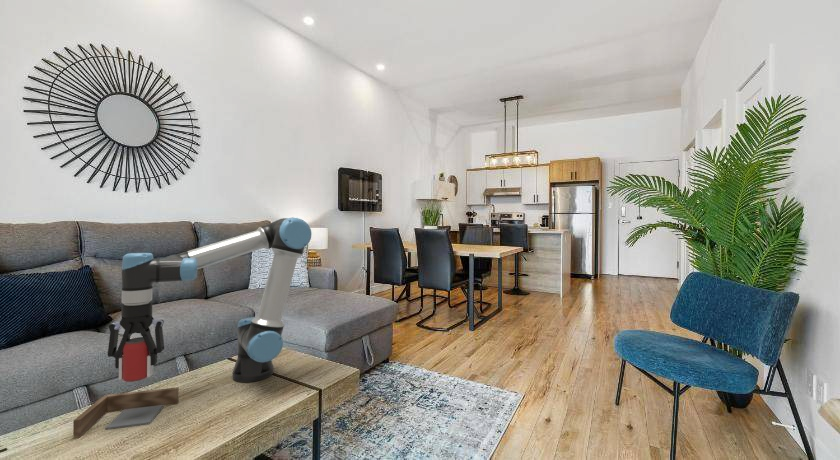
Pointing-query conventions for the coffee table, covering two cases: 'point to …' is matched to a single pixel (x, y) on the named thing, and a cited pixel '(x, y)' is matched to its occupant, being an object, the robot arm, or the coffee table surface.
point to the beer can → (135, 360)
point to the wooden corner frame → (123, 406)
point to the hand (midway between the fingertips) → (136, 376)
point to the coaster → (135, 417)
